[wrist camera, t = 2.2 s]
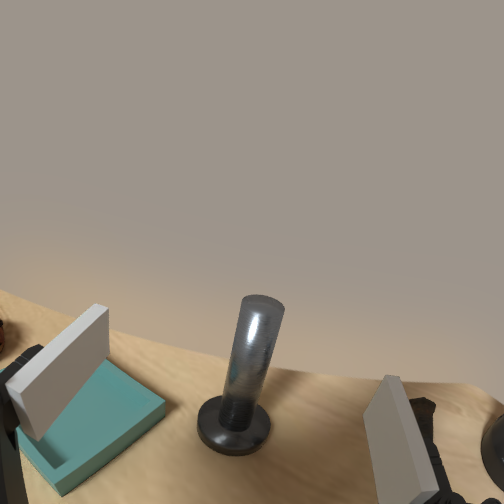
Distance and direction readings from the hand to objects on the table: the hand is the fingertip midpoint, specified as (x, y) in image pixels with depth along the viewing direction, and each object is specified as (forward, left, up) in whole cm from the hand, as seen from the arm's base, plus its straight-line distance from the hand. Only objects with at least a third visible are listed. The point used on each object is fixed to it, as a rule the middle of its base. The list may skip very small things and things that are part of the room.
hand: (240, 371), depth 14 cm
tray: (+16, +1, -16) cm, 23 cm away
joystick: (+3, -9, -16) cm, 19 cm away
